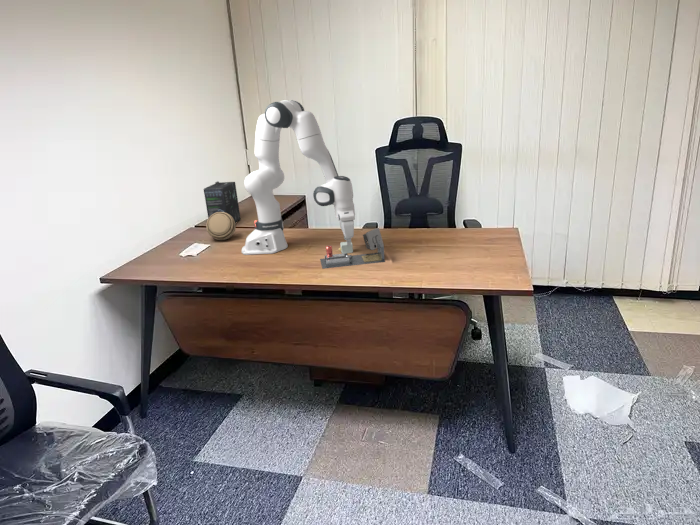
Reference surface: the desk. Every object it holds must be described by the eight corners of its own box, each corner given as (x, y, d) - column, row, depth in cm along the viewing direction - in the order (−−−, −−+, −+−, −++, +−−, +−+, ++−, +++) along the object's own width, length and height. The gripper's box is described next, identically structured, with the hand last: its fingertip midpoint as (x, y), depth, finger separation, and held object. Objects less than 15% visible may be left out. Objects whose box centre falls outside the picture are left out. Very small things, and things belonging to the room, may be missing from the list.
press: (322, 270, 202) (321, 255, 200) (320, 261, 214) (318, 246, 212) (385, 264, 205) (384, 248, 203) (379, 254, 217) (378, 239, 215)
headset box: (222, 220, 300) (216, 178, 292) (241, 219, 299) (235, 177, 290) (209, 230, 279) (201, 185, 271) (229, 229, 278) (222, 184, 269)
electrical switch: (372, 252, 221) (370, 232, 219) (363, 251, 225) (361, 232, 222) (384, 246, 228) (382, 227, 226) (375, 246, 231) (373, 227, 229)
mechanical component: (203, 241, 258) (198, 213, 253) (226, 234, 268) (222, 207, 263) (219, 245, 248) (215, 217, 244) (243, 237, 259) (239, 210, 254)
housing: (339, 256, 219) (339, 245, 218) (338, 252, 224) (337, 242, 222) (353, 254, 220) (352, 244, 218) (351, 251, 225) (350, 241, 223)
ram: (327, 263, 207) (325, 247, 205) (326, 261, 210) (325, 245, 207) (352, 260, 208) (351, 245, 206) (351, 258, 211) (350, 243, 208)
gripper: (335, 208, 225) (338, 237, 229) (340, 218, 206) (343, 249, 210) (348, 207, 226) (351, 235, 230) (355, 216, 206) (357, 247, 211)
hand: (347, 242), depth 220 cm, fingers open, 8 cm apart
